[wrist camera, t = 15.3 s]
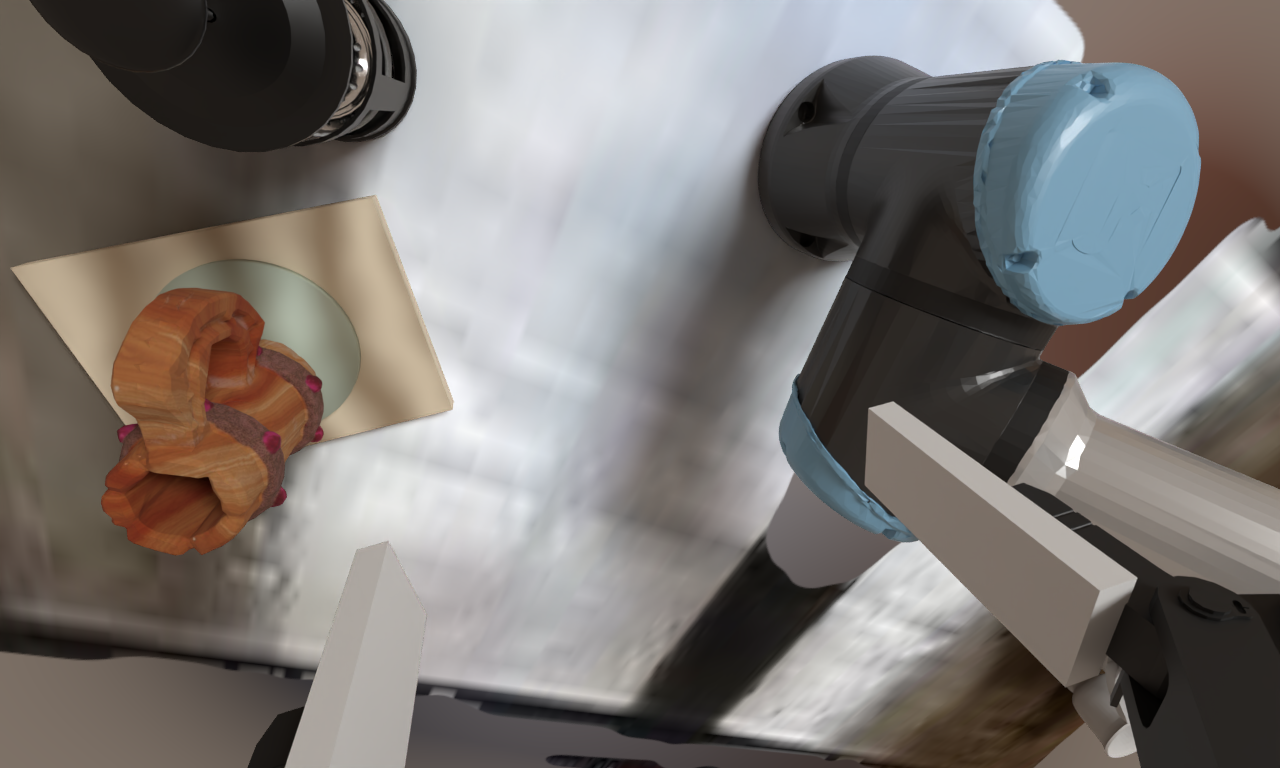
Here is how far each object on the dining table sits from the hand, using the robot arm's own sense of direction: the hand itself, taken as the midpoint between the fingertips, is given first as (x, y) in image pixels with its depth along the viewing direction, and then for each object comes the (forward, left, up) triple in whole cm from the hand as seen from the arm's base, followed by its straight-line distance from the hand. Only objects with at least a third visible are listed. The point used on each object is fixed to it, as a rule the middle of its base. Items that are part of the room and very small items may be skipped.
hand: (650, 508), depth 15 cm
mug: (+21, +2, -30) cm, 36 cm away
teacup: (-75, +94, -32) cm, 124 cm away
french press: (+10, -15, -32) cm, 37 cm away
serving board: (+22, +2, -32) cm, 39 cm away
